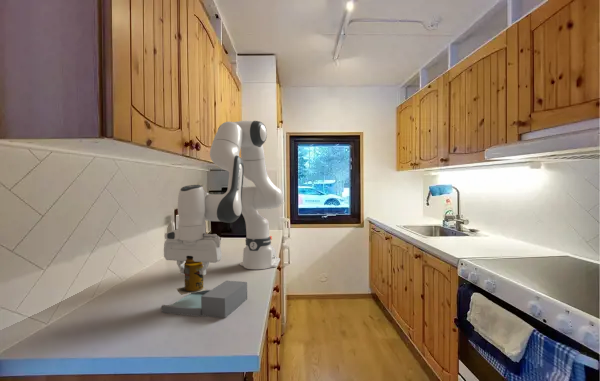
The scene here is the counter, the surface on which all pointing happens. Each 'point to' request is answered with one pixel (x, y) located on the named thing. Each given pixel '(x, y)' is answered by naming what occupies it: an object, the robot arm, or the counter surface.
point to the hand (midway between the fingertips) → (193, 274)
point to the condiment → (192, 277)
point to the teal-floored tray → (211, 301)
